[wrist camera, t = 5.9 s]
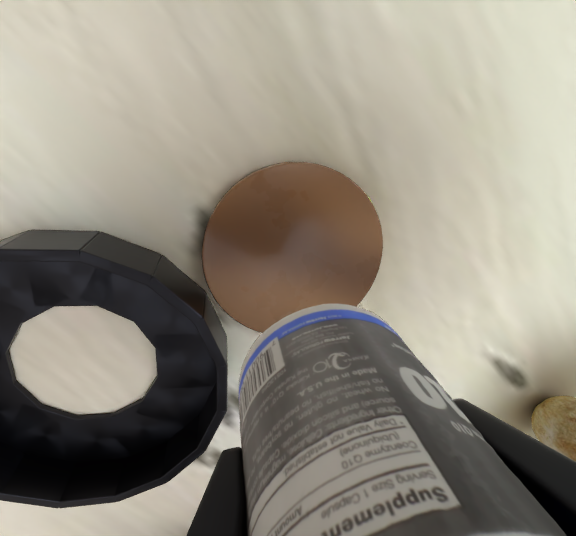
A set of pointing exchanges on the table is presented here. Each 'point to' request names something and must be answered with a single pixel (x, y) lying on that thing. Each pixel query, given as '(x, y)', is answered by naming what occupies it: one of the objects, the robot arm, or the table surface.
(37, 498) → the pan
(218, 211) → the disc
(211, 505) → the robot arm
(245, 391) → the pill bottle
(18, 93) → the table surface
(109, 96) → the table surface
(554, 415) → the decorative mushroom
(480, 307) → the table surface
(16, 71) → the table surface
